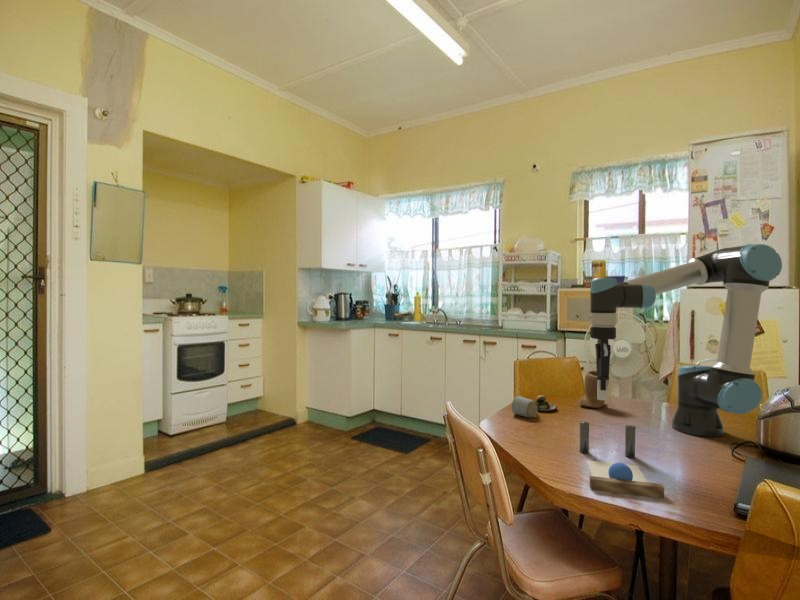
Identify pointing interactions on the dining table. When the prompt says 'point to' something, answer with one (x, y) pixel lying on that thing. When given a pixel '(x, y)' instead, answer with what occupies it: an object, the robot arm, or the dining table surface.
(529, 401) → the ceramic mug
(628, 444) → the right post
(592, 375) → the brown boot
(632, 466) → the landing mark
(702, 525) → the dining table surface
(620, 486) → the stopper wall
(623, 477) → the ball
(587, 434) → the left post
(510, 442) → the dining table surface
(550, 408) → the plate of salad
